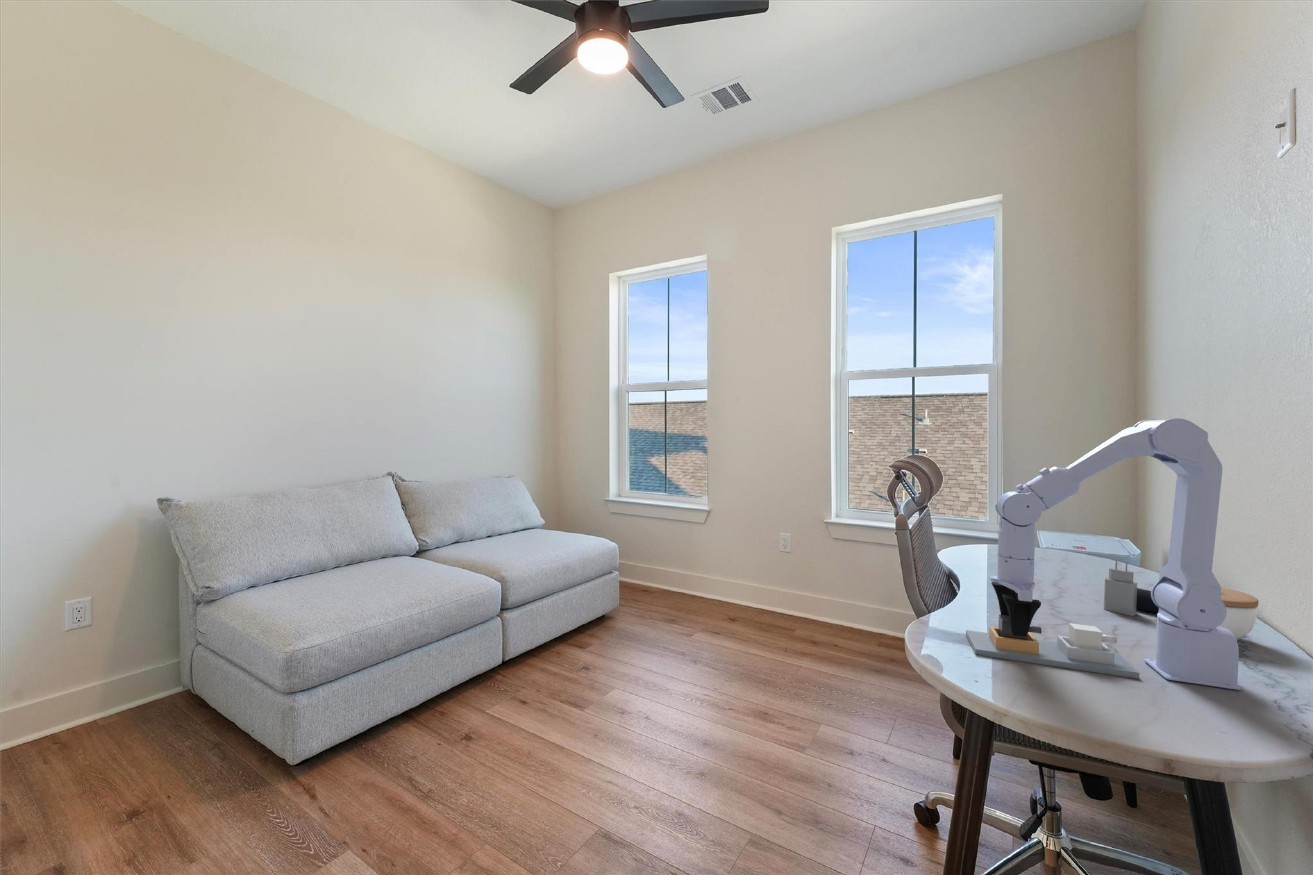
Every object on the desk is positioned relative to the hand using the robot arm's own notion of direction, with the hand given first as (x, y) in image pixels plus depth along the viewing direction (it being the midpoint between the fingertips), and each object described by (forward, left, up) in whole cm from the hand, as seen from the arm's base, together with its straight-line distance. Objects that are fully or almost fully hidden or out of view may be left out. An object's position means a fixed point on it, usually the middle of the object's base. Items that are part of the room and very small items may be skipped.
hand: (1013, 627), depth 101 cm
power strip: (-5, 0, -4) cm, 7 cm away
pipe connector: (-41, -39, -5) cm, 57 cm away
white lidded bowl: (-40, -25, -4) cm, 47 cm away
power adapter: (-29, -36, -4) cm, 46 cm away
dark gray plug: (-1, 0, -3) cm, 3 cm away
